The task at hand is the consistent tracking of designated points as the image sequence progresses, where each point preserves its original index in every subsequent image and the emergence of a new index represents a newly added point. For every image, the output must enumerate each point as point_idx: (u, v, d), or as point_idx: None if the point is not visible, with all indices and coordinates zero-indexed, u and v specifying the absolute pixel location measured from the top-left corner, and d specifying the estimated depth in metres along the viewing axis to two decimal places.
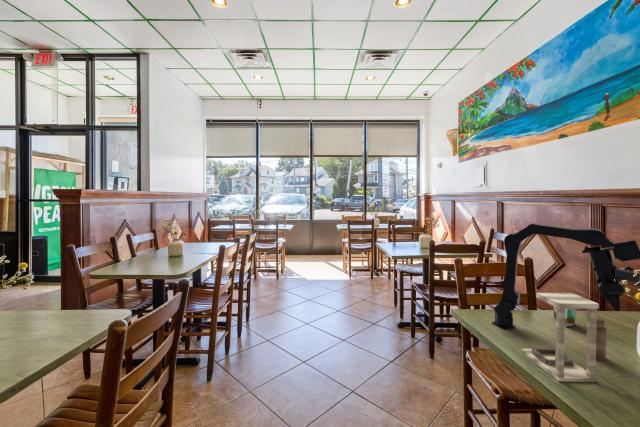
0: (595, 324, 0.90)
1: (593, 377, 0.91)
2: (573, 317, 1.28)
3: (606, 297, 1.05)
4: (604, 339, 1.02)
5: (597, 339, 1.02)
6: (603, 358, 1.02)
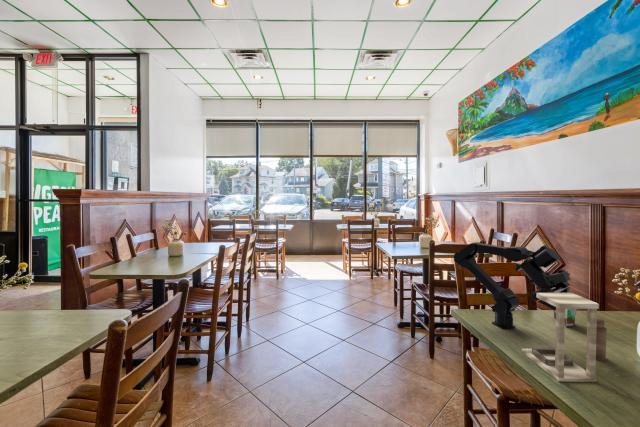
0: (595, 324, 0.90)
1: (593, 377, 0.91)
2: (573, 317, 1.28)
3: (545, 304, 1.12)
4: (604, 339, 1.02)
5: (597, 339, 1.02)
6: (603, 358, 1.02)
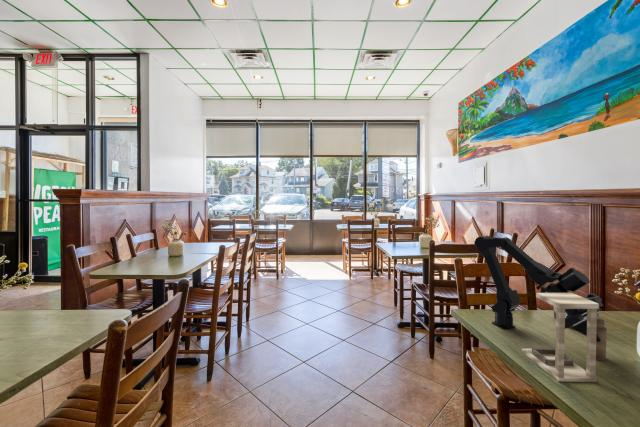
0: (595, 324, 0.90)
1: (593, 377, 0.91)
2: None
3: (579, 330, 1.05)
4: (604, 339, 1.02)
5: None
6: (603, 358, 1.02)
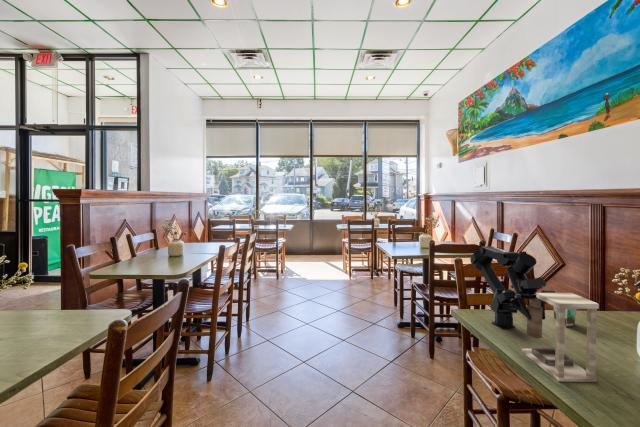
0: (595, 324, 0.90)
1: (593, 377, 0.91)
2: (573, 317, 1.28)
3: (516, 307, 1.14)
4: (536, 318, 1.08)
5: None
6: (534, 336, 1.09)
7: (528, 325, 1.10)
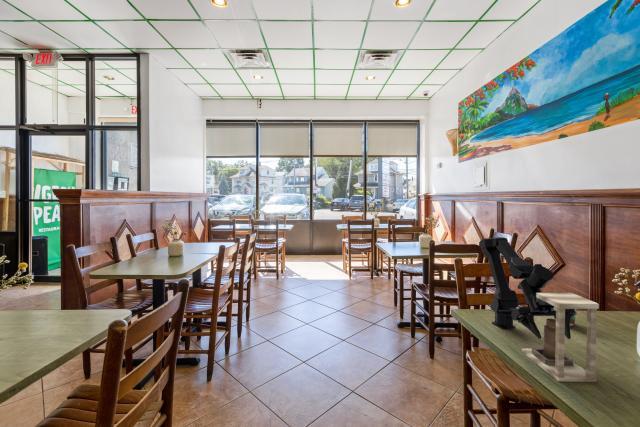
0: (595, 324, 0.90)
1: (593, 377, 0.91)
2: (573, 317, 1.28)
3: (525, 325, 1.05)
4: (554, 340, 1.00)
5: (547, 339, 1.01)
6: None
7: (545, 347, 1.02)
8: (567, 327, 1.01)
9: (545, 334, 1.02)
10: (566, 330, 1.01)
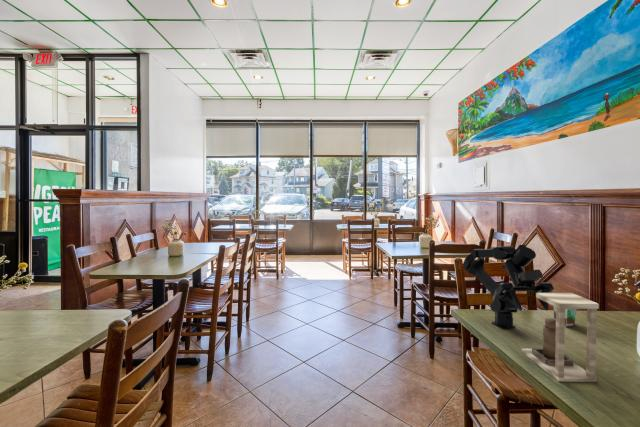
0: (595, 324, 0.90)
1: (593, 377, 0.91)
2: (573, 317, 1.28)
3: (508, 299, 1.17)
4: (553, 340, 1.00)
5: (546, 339, 1.01)
6: None
7: (545, 347, 1.02)
8: None
9: (544, 334, 1.02)
10: (544, 303, 1.13)
